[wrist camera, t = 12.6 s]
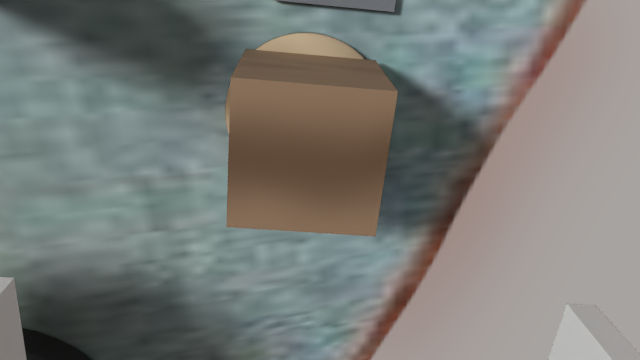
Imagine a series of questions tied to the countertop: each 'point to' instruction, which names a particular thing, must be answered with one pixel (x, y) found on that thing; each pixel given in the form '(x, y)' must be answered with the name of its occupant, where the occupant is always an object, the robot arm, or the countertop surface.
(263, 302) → the countertop surface
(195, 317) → the countertop surface
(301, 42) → the cork coaster
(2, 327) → the robot arm
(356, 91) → the walnut block
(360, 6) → the tile
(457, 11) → the countertop surface
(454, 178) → the countertop surface
